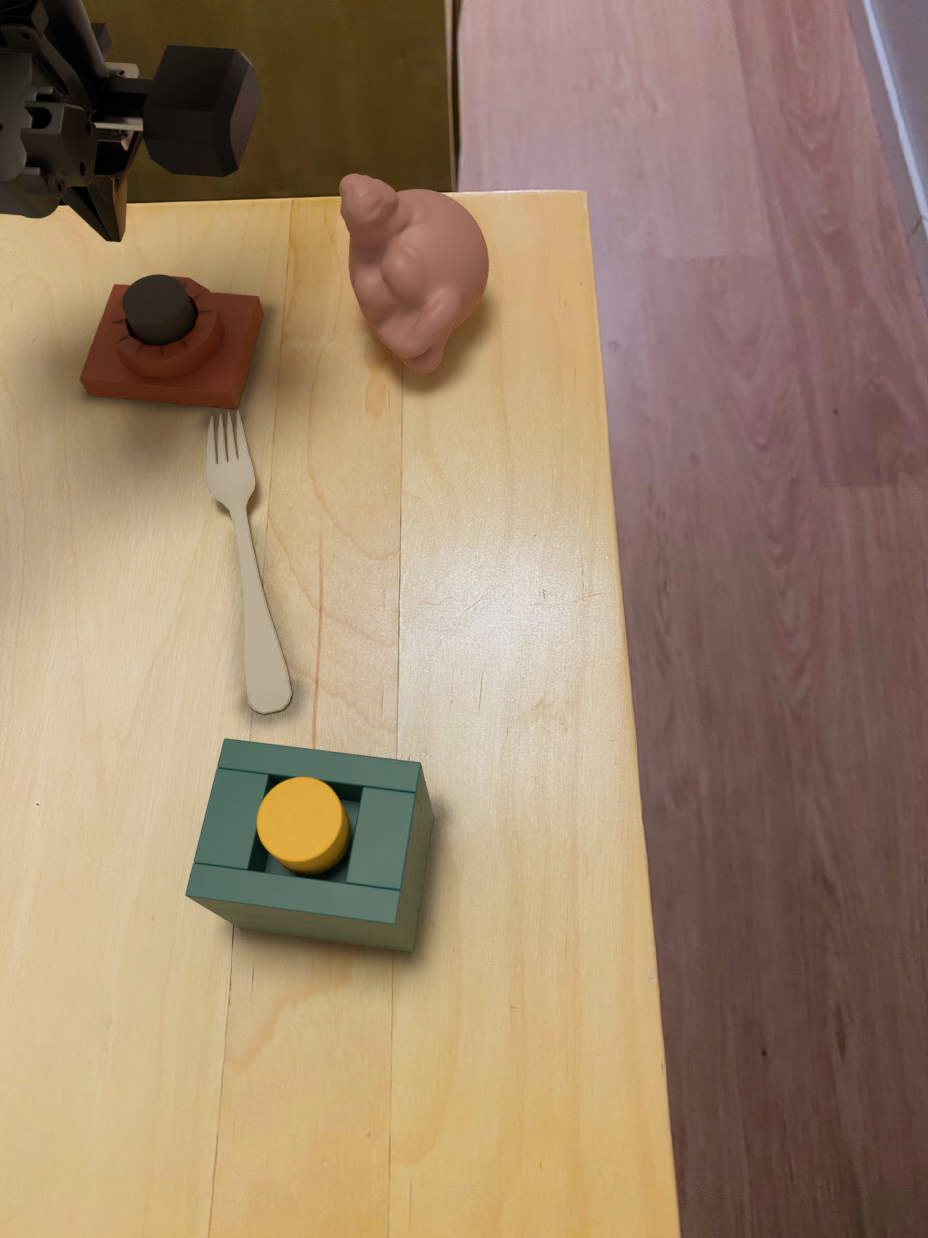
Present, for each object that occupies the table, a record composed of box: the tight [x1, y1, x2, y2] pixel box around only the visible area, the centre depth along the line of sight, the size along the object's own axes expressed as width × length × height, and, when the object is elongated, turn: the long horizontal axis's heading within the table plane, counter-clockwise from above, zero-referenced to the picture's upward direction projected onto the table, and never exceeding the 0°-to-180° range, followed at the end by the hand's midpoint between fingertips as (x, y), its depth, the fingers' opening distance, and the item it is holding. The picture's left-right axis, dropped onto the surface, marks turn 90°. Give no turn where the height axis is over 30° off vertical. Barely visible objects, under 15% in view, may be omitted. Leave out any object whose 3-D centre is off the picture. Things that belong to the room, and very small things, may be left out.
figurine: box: [338, 173, 490, 374], centre depth 61 cm, size 9×11×12 cm
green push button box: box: [184, 737, 435, 953], centre depth 47 cm, size 9×7×10 cm
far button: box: [122, 273, 195, 346], centre depth 62 cm, size 4×4×2 cm
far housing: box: [78, 275, 265, 410], centre depth 65 cm, size 10×8×4 cm
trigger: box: [257, 777, 351, 875], centre depth 43 cm, size 4×4×3 cm
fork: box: [205, 409, 293, 715], centre depth 59 cm, size 3×21×3 cm, turn 13°
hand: (116, 236), depth 55 cm, fingers closed
